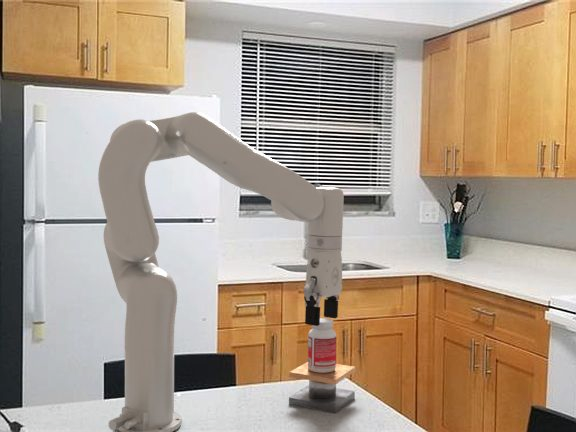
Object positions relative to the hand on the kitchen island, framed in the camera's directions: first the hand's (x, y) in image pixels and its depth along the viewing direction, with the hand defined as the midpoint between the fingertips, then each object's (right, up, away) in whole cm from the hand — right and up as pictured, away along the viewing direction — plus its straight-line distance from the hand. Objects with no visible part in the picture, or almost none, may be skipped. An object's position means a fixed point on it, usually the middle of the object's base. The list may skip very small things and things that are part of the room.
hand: (321, 321), depth 146 cm
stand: (0, -18, +1) cm, 18 cm away
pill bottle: (0, -11, +1) cm, 11 cm away
